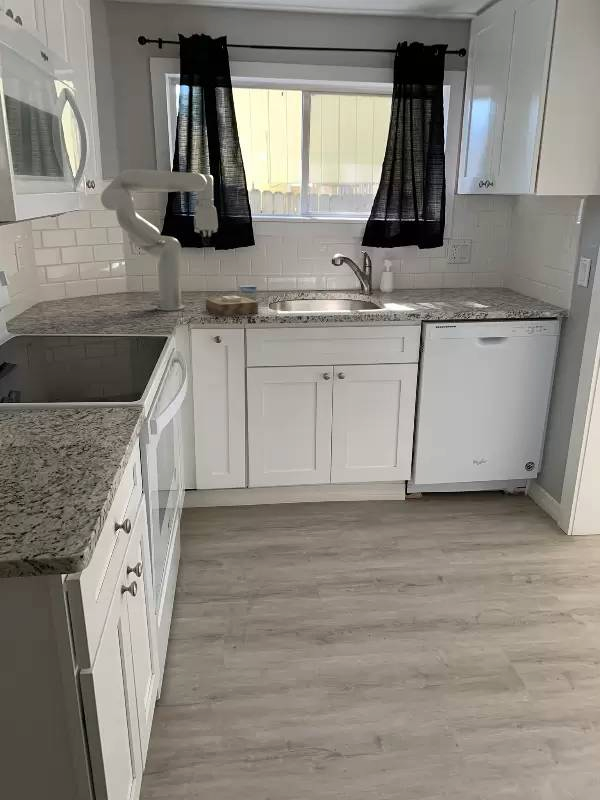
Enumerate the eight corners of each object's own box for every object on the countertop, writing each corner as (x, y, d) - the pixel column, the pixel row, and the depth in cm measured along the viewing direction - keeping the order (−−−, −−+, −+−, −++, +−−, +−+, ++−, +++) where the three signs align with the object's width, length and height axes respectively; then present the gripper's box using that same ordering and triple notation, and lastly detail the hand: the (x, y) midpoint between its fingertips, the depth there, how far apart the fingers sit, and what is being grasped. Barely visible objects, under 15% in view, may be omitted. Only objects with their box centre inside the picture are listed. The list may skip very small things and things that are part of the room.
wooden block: (220, 316, 263) (220, 304, 261) (206, 310, 276) (205, 299, 274) (258, 313, 271) (257, 301, 270) (242, 307, 284) (242, 296, 283)
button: (228, 312, 269) (227, 298, 267) (222, 309, 274) (222, 296, 273) (241, 311, 272) (241, 297, 270) (235, 308, 278) (235, 295, 276)
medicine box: (240, 305, 290) (240, 286, 287) (238, 303, 294) (238, 285, 291) (256, 304, 292) (256, 286, 289) (254, 303, 296) (254, 285, 293)
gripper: (192, 203, 270) (193, 246, 276) (223, 204, 278) (224, 245, 283) (186, 203, 276) (188, 245, 282) (217, 203, 284) (218, 244, 290)
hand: (206, 245), depth 283 cm, fingers closed
